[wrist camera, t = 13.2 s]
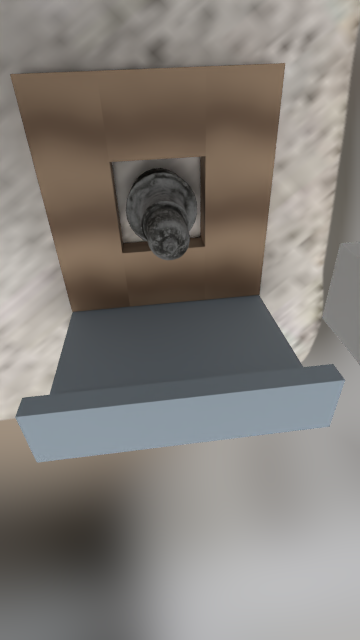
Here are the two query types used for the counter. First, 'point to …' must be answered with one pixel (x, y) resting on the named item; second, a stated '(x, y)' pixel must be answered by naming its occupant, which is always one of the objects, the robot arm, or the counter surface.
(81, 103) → the socket block
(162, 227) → the dark grey chess piece
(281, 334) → the grey upright panel
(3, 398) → the counter surface
